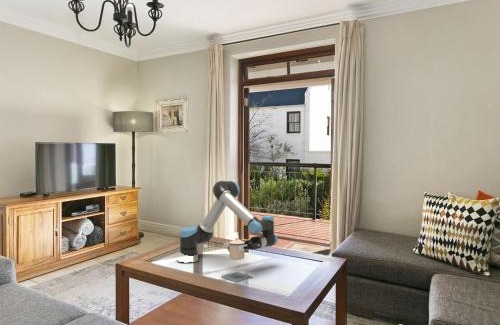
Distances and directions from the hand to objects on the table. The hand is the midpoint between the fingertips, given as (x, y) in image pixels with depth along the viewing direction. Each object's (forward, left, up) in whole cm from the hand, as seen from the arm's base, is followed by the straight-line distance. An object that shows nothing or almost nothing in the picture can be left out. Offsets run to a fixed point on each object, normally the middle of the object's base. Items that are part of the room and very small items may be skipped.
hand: (231, 247), depth 178 cm
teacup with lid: (0, +3, -7) cm, 7 cm away
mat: (0, +4, -17) cm, 18 cm away
